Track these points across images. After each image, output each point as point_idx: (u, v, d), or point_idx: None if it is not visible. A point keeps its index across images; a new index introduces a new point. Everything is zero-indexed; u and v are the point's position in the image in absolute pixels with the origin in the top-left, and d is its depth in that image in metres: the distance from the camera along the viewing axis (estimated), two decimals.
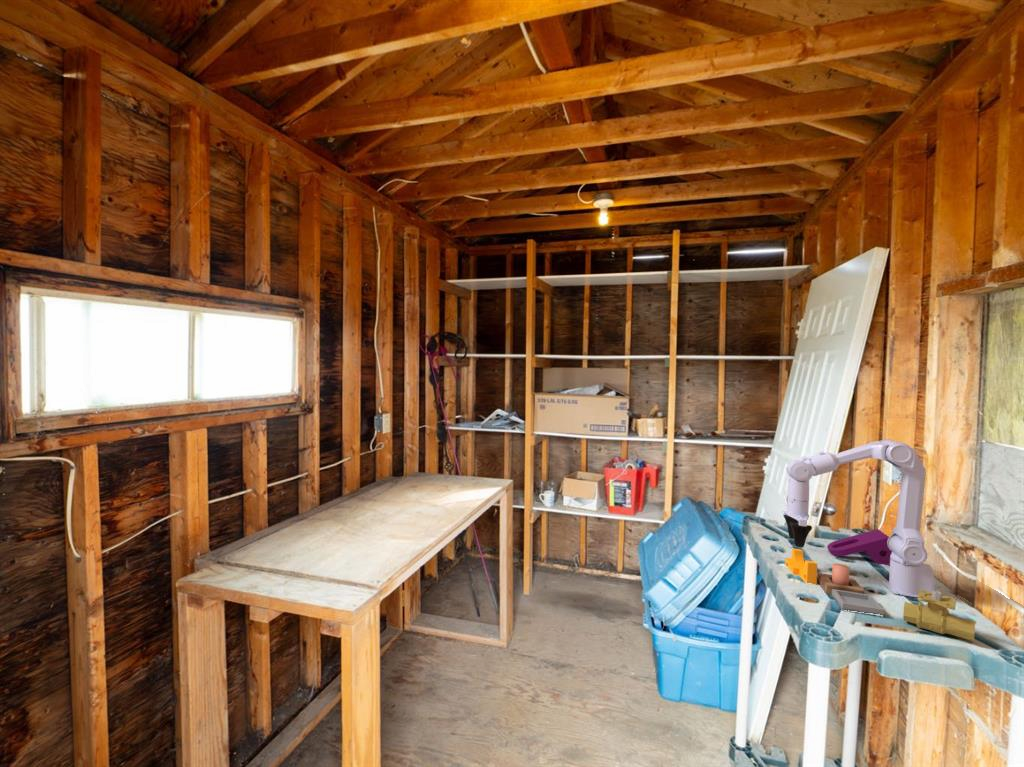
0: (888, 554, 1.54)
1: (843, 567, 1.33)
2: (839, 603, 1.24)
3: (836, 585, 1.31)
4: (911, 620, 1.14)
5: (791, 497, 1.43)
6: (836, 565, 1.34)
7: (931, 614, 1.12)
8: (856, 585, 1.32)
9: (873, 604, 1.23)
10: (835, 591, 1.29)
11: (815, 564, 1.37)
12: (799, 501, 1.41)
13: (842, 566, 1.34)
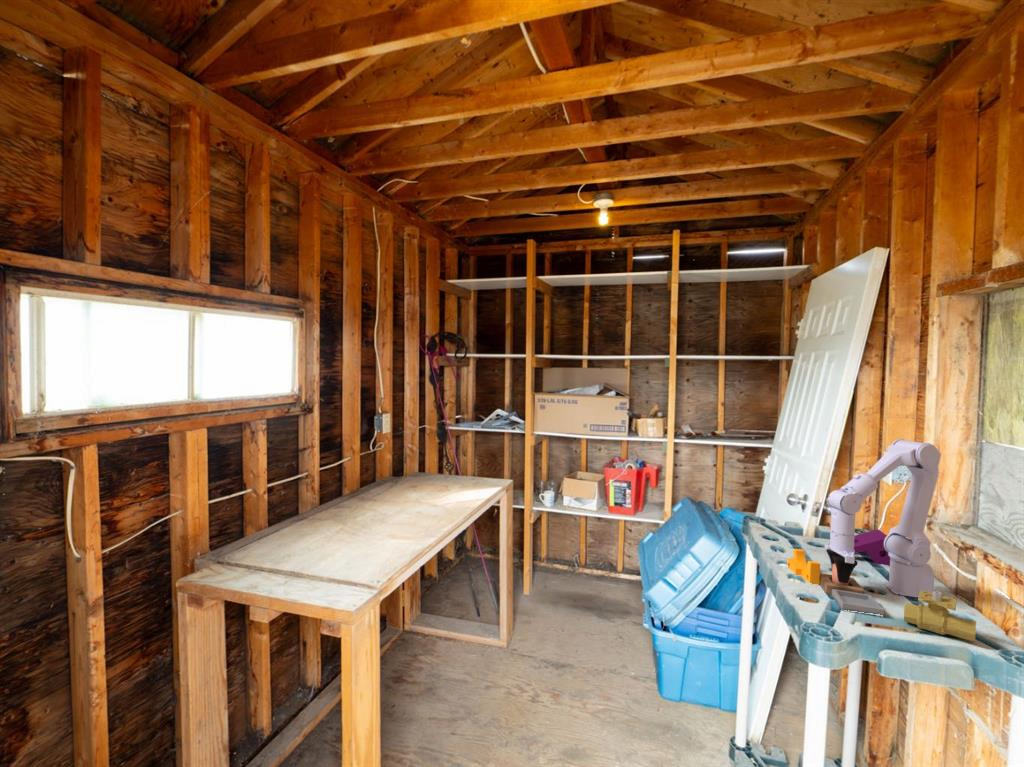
0: None
1: None
2: (839, 603, 1.24)
3: (836, 585, 1.31)
4: (912, 621, 1.14)
5: (839, 532, 1.32)
6: None
7: (932, 615, 1.12)
8: (856, 585, 1.32)
9: (873, 604, 1.23)
10: (835, 591, 1.29)
11: (818, 564, 1.37)
12: (844, 535, 1.31)
13: None
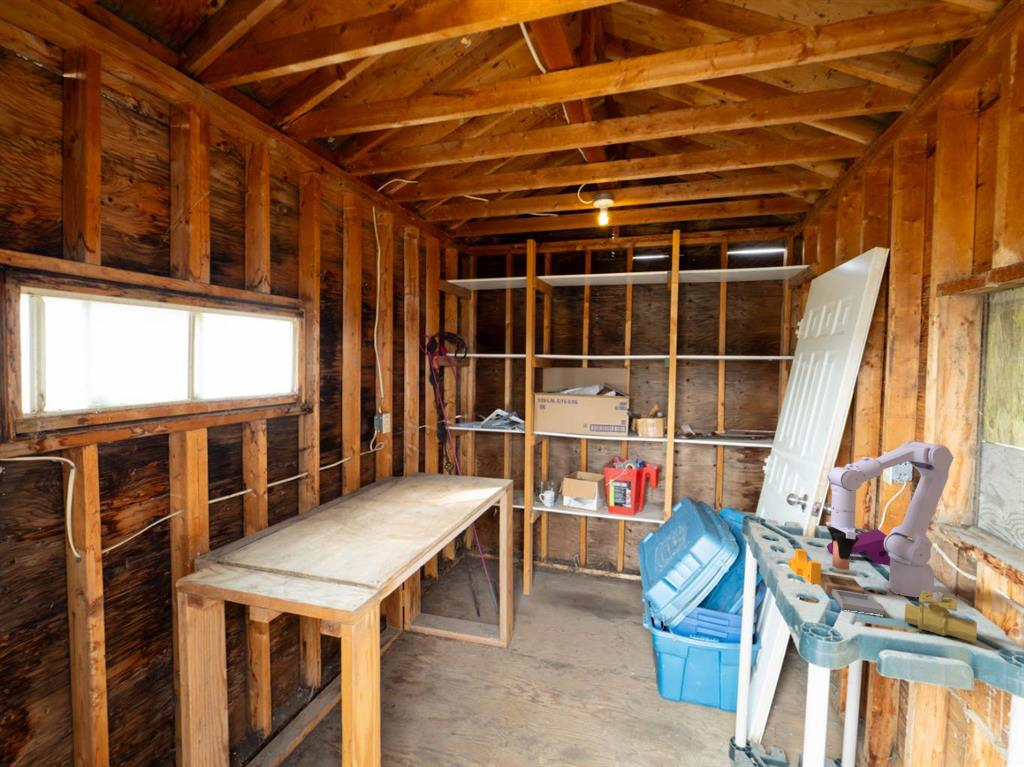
0: None
1: None
2: (839, 603, 1.24)
3: (836, 585, 1.31)
4: (912, 622, 1.14)
5: (840, 508, 1.32)
6: None
7: (933, 616, 1.11)
8: (856, 585, 1.32)
9: (873, 604, 1.23)
10: (835, 591, 1.29)
11: (819, 564, 1.37)
12: (845, 511, 1.31)
13: None
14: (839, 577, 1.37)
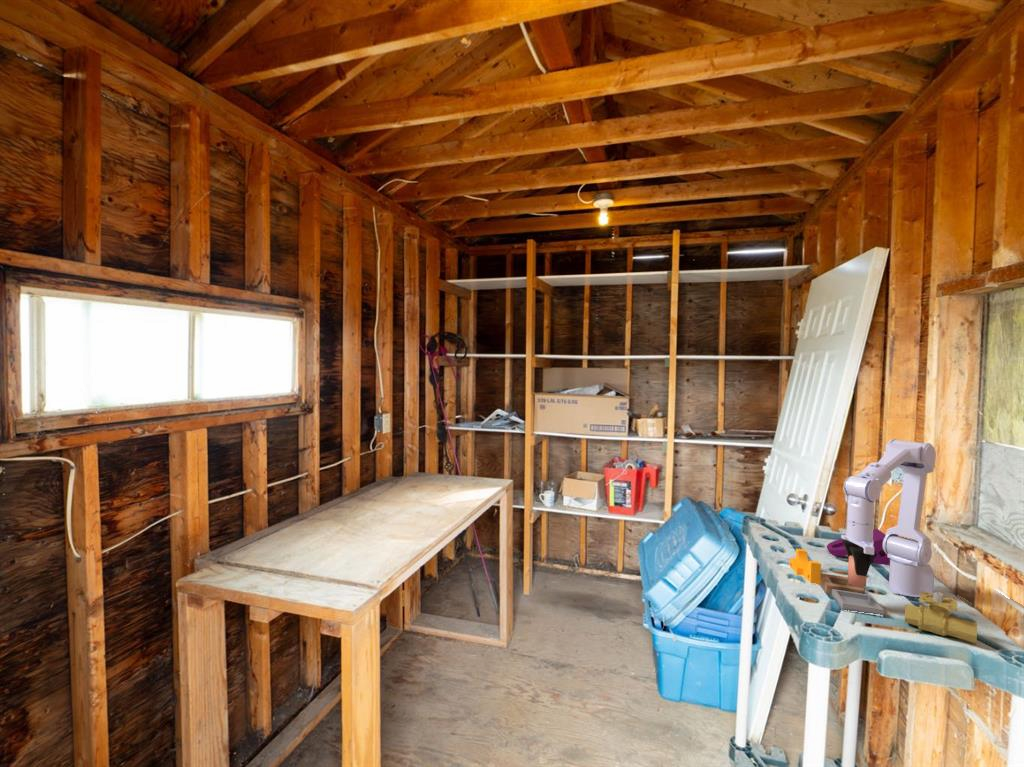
0: (887, 554, 1.54)
1: None
2: (839, 603, 1.24)
3: (836, 585, 1.31)
4: (913, 622, 1.13)
5: (862, 521, 1.22)
6: None
7: (933, 616, 1.11)
8: None
9: (873, 604, 1.23)
10: (835, 591, 1.29)
11: (819, 564, 1.37)
12: (863, 524, 1.22)
13: None
14: (839, 577, 1.37)
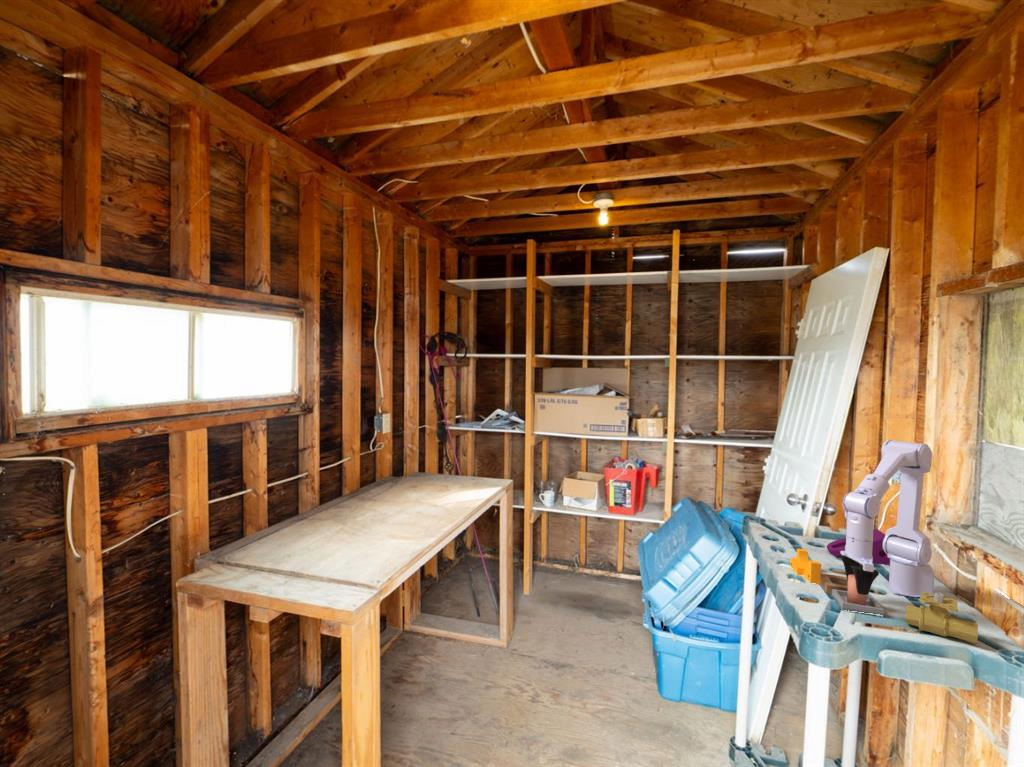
0: (887, 554, 1.54)
1: None
2: (839, 603, 1.24)
3: (836, 585, 1.31)
4: (913, 623, 1.13)
5: (862, 538, 1.22)
6: (852, 576, 1.25)
7: (934, 617, 1.11)
8: None
9: (873, 604, 1.23)
10: (835, 591, 1.29)
11: (819, 564, 1.37)
12: (862, 541, 1.22)
13: None
14: (839, 577, 1.37)
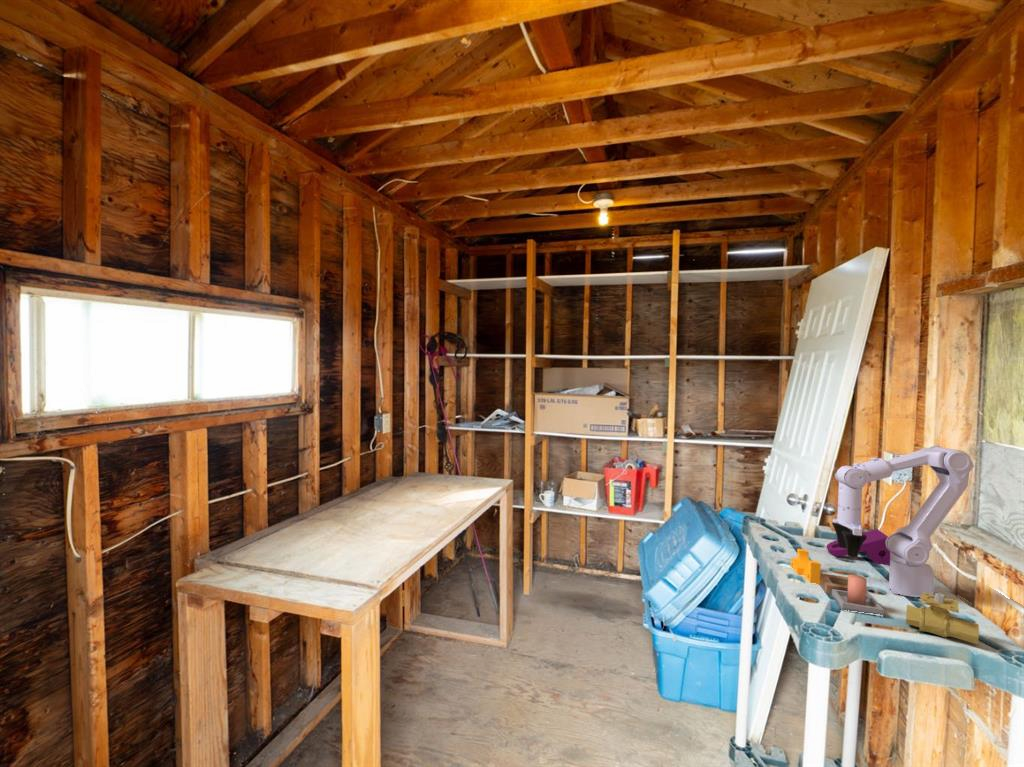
0: (887, 554, 1.54)
1: (860, 579, 1.23)
2: (839, 603, 1.24)
3: (836, 585, 1.31)
4: (914, 623, 1.13)
5: (844, 505, 1.36)
6: (852, 576, 1.25)
7: (934, 617, 1.10)
8: None
9: (873, 604, 1.23)
10: (835, 591, 1.29)
11: (818, 564, 1.37)
12: (852, 509, 1.35)
13: (859, 577, 1.24)
14: (839, 577, 1.37)
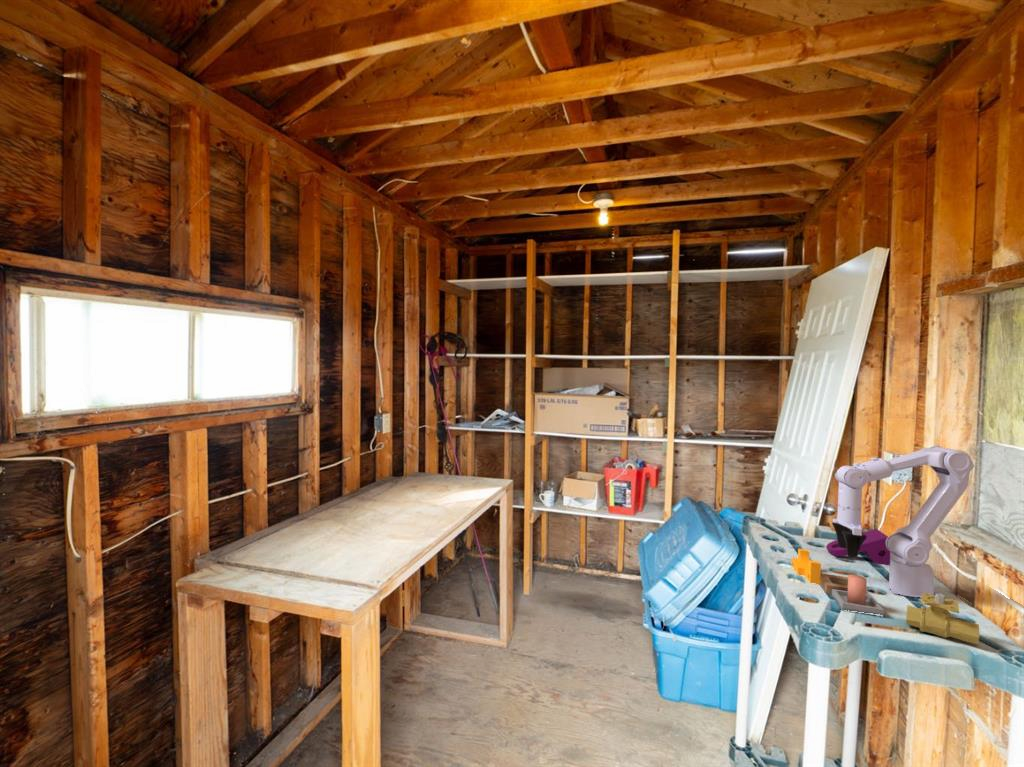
0: (887, 554, 1.54)
1: (860, 579, 1.23)
2: (839, 603, 1.24)
3: (836, 585, 1.31)
4: (914, 624, 1.13)
5: (844, 505, 1.36)
6: (852, 576, 1.25)
7: (935, 618, 1.10)
8: None
9: (873, 604, 1.23)
10: (835, 591, 1.29)
11: (818, 564, 1.37)
12: (852, 509, 1.35)
13: (859, 577, 1.24)
14: (839, 577, 1.37)
